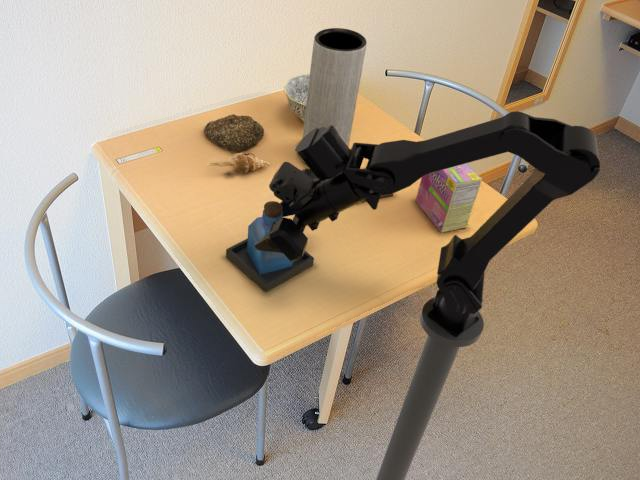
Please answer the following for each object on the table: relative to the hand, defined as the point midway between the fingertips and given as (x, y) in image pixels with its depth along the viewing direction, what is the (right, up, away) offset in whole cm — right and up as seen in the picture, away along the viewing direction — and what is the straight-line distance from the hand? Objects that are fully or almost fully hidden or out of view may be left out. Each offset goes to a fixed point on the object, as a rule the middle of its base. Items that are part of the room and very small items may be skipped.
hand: (263, 231), depth 114 cm
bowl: (+14, +29, +41) cm, 52 cm away
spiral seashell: (-4, +14, +24) cm, 28 cm away
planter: (+14, +17, +29) cm, 37 cm away
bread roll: (-5, +23, +34) cm, 42 cm away
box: (+35, +4, +16) cm, 39 cm away
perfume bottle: (+1, -5, +4) cm, 7 cm away
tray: (+1, -5, +4) cm, 7 cm away
